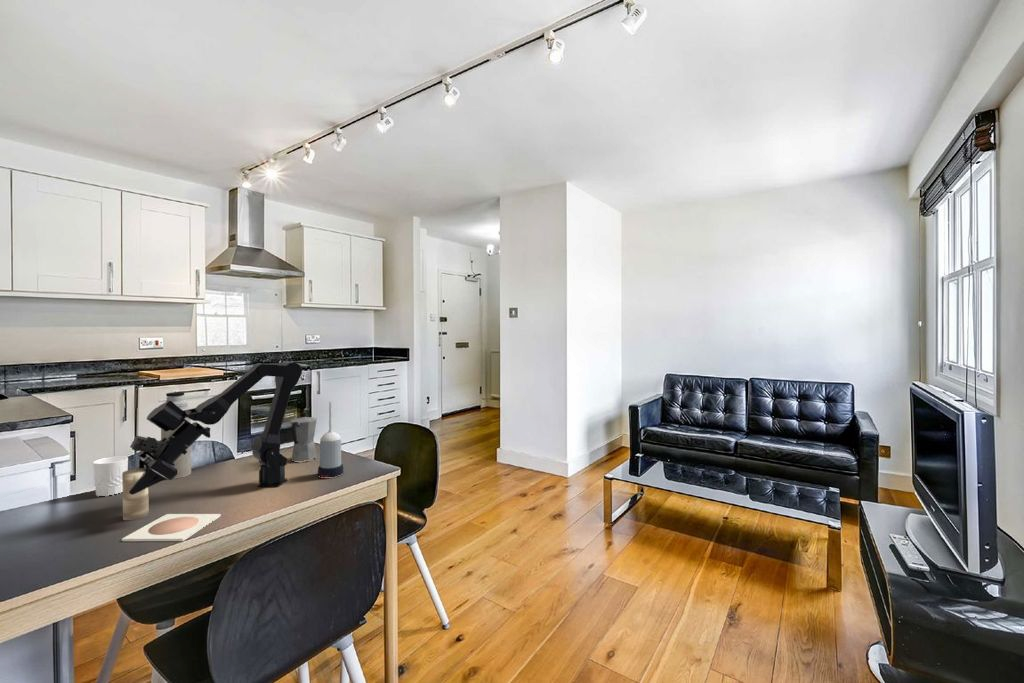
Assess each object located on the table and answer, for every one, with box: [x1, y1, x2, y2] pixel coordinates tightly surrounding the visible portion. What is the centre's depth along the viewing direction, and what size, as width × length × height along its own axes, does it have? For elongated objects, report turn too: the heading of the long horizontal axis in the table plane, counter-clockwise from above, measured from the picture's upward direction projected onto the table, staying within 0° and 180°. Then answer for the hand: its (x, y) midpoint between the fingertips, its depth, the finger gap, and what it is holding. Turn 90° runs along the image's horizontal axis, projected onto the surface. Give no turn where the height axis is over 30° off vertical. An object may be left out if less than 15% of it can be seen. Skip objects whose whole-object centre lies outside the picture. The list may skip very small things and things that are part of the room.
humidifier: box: [317, 401, 344, 477], centre depth 153 cm, size 8×8×25 cm
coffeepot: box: [290, 411, 317, 461], centre depth 170 cm, size 15×9×18 cm, turn 179°
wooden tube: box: [122, 467, 150, 521], centre depth 118 cm, size 5×5×12 cm
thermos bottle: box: [160, 391, 192, 480], centre depth 151 cm, size 8×8×28 cm
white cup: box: [92, 455, 129, 497], centre depth 135 cm, size 8×8×10 cm
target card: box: [121, 513, 221, 542], centre depth 112 cm, size 14×14×1 cm
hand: (128, 491), depth 117 cm, fingers closed on wooden tube, 5 cm apart
